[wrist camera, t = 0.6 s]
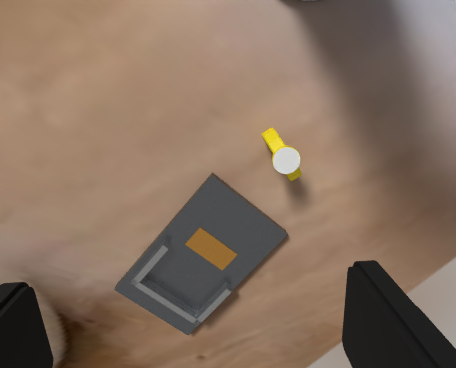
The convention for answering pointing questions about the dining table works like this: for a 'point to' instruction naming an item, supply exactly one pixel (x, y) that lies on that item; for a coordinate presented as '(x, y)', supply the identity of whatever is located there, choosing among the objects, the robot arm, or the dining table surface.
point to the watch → (282, 155)
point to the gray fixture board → (201, 256)
